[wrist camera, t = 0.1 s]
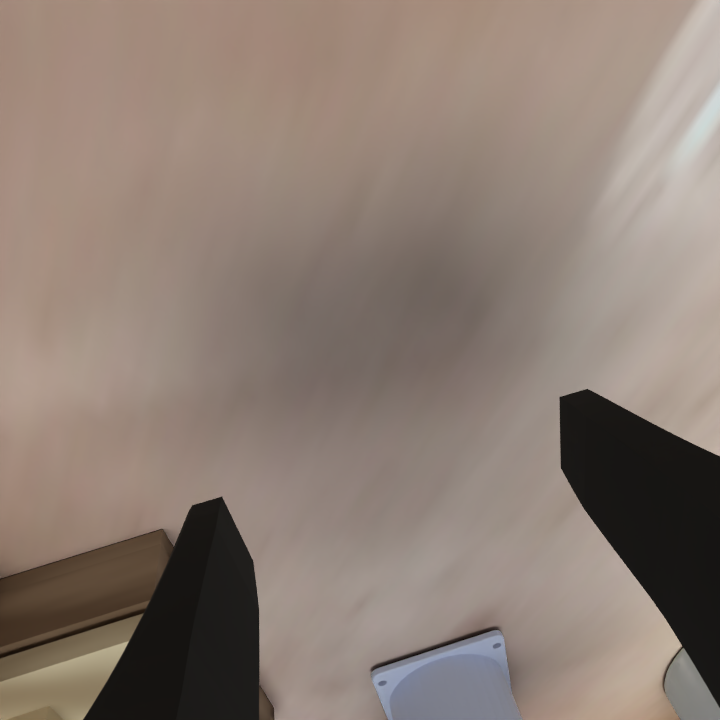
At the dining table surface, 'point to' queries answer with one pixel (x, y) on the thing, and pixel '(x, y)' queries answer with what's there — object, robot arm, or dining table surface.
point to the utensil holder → (689, 691)
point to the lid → (62, 674)
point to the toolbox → (85, 595)
